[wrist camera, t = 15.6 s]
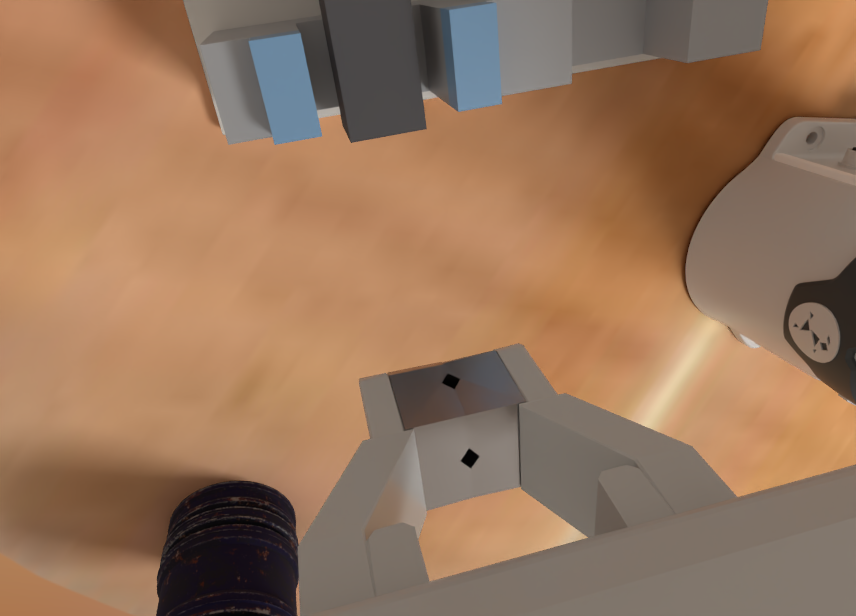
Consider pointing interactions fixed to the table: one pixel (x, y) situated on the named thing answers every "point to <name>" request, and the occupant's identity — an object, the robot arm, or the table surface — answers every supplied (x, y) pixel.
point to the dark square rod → (374, 66)
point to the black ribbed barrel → (230, 554)
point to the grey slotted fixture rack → (448, 51)
